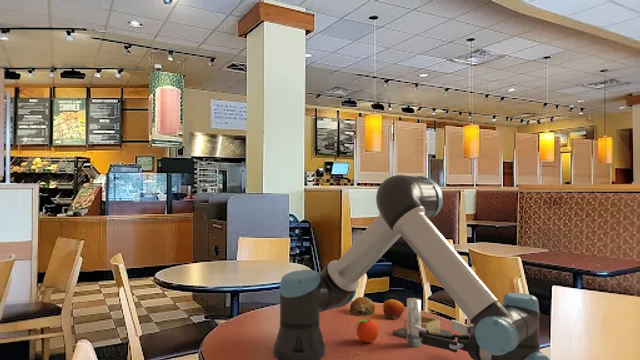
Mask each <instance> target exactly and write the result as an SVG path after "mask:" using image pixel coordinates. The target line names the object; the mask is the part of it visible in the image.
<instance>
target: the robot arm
mask: <svg viewBox="0 0 640 360" xmlns="http://www.w3.org/2000/svg"><path fill="white" fill-rule="evenodd" d="M375 196H376V197H375V198H376V199H375V201H376V206H377V207H376V208H377V210H378V212H379V214H378V216H377V217H375V219H374V220H373V221H372V222H371V223H370V225H368V226H367V228H366V229H365V230H364V231H363V232H362V233H361V235H360V236H359V237H358V238H357V239H356V240H355V241H354V242H353V243H352V245H351V246H350V247H349V248H348V249H347V250H346V251H345V252H344V253H343V254H342V255H341V256H340V257H339V259H338V260H337V259H334V260H331V261H330V262H328V263H327V265H326V266H325V267H324V268H323V269H322V271H320V272H318V271H317V270H313V269H302V270H294V271H290V272H288V273H286V274H284V275H283V276H282V277H281V280H280V287H279V300H280V301H279V329H278V332H277V335H276V338H275V339H276V340H275V342H274V345H273V356H274V357H275V358H277V359H279V360H319V359H321V358H323V357H324V356H325V354H326V344H325V342H324V338H323V333H322V331H321V328H320V327H321V325H320V319H321V318H320V313H323V312H326V311H330V310H333V309H337V308H342V307H344V306H346V305H348V304H350V303H351V302H353V301H354V298H355V296H356V294H357V290H358V288H359V284H360V281H359V280H361V278H362V277H363V276H364V275H365V274H366V273H367V272H368V271H369V270H370V269H371V268H372V267H373V265H374V264H375V263H376V262H378V261H379V260H380V258H381V257H382V256H383V255H384V254H385V253H386V252H387V251H388V250H389V249H390V248H391V247H392V246H393V245H394V244H395V243H396V242H397V241H398V239H400V238H401V237H402V238H403V240H405V242H406V243H407V244H408V246H409V247H410V248H411V249H412V251H413V252H414V253H415V254H416V255H417V257H418V258H419V260H421V262H422V263H423V264H424V265H425V267H426V268H427V269H428V271H429V272H430V273H431V274H432V275H433V276H434V279H436V281H437V282H439V284H440V285H441V286H442V288H443V289H444V290H445V291H446V292H447V294H448V295H449V296H450V298H451V300H453V301H454V303H455V304H456V305H457V307H458V308H459V309H460V311H461V312H463V314H464V315H465V316H466V318H467V319H468V320H469V322H470V323H471V324H472V325H467V324H465V323H463V322H460V321H458V320H455V319H451V320H450V321H451V322H450V330H452V331H454V332H456V333H457V332H458V333H460V334H455V333H454V334H453V333H452V335H443V334H436V333H431V331H429V330H426V329H424V328H422V327H420V326H417V325H414V335H415V336H417V337H420V338H422V342H421V345H425V346H429V347H433V348H438V349H443V350H446V351H450V352H452V353H458V350H462V351H463V352H467V354H468V355H469V357H470V358H471V359H472V360H551V359H550V358H549V356H548V355H546V354H545V353H544V352H541V351H540V350H541V347H540V314H541V311H540V309H539V307H540V305H539V304H540V303H539V300H538V298H537V297H536V296H535V295H533V294H529V293H523V292H521V293H520V292H508V293H506V294H504V296H503V301H502V303H500V301H499V300H498V298H497V297H496V295H494V294H493V293H492V292H491V290H490V289H489V288H488V286H486V284H485V283H484V282H483V281H482V280H481V279H480V278H479V276H478V275H477V274H476V273H475V272H474V270H473V269H472V268H471V267H470V266H469V264H468V263H467V262H466V261H465V260H464V259H463V258H462V256H460V254H459V253H458V252H457V251H456V250H455V248H454V247H453V246H452V245H451V243H450V242H449V241H448V240H447V239H446V238H445V237H444V235H443V234H442V233H441V232H440V231H439V230H438V229H437V227H436V225H434V224H433V223H432V221H431V220H430V219H431V218H433V217H435V216H437V215H438V214H439V212H440V211H441V209H442V207H443V202H444V200H443V198H444V197H443V192H442V190H441V188H440V186H439V185H438V183H437V182H436V181H434V180H433V179H432V178H429V177H425V176H423V175H422V176H421V175H418V176H414V175H403V174H402V175H401V174H397V175H393V176H390V177H388V178H386V179H385V180H384V181H383V182H382V183H381V184H380V185H379V187H378V189H377V192H376V195H375ZM456 339H457V341H456Z"/></svg>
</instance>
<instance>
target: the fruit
mask: <svg viewBox="0 0 640 360" xmlns="http://www.w3.org/2000/svg"><path fill="white" fill-rule="evenodd" d="M382 308H383V314H384V317H385V318H386V319H387V318H392V319H394V320H396V319H399V318H401V316H402V315H403V313H404V311H405V306H404V304H403V302H401V301H399V300H397V299H393V298H390V299H388V300H385V301H384V302H383V305H382Z"/></svg>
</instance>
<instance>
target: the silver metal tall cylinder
mask: <svg viewBox="0 0 640 360" xmlns="http://www.w3.org/2000/svg"><path fill="white" fill-rule="evenodd" d="M421 315H422V299H421V298H416V297H409V298H406V318H407V338H406V346H408V347H410V348H419V347H422V342H421V338H420V337H417V336H415V335H414V325H417V326H420V327H421Z"/></svg>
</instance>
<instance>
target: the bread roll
mask: <svg viewBox="0 0 640 360" xmlns="http://www.w3.org/2000/svg"><path fill="white" fill-rule="evenodd" d="M349 304H350V306H349V312H350V313H351V314H352V315H355V316H361V317H362V316H370V315H373V314H375V310H376V306H375V303H374V302H373V300H372V299H370V298H369V297H366V296H358V297H356V298H355V299H353V300H352V301H351V302H350V303H349Z"/></svg>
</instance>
